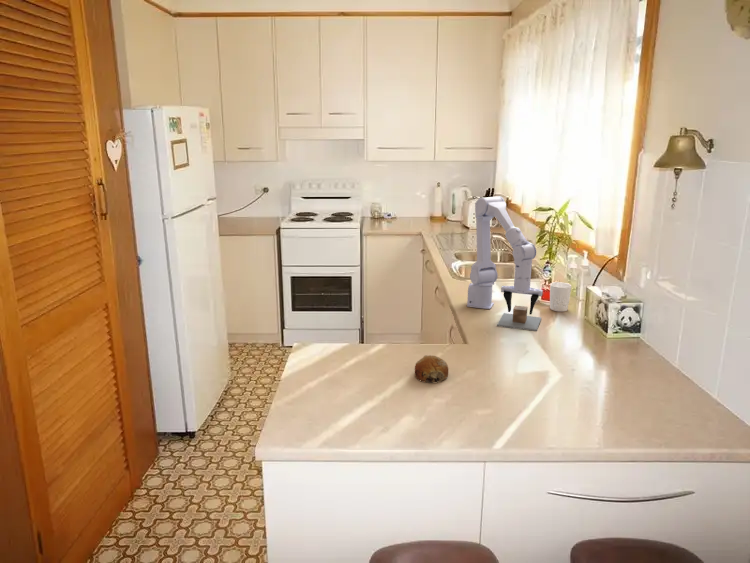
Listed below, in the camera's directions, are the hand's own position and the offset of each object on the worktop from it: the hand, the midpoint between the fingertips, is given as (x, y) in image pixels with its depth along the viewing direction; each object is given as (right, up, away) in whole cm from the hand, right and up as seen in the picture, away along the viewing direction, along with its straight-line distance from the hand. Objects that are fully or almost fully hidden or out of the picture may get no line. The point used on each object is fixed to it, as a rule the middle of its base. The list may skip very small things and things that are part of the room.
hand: (520, 312), depth 208 cm
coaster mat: (0, -4, +1) cm, 4 cm away
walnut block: (0, -3, +1) cm, 3 cm away
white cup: (+19, 0, +16) cm, 25 cm away
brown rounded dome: (-37, -17, -43) cm, 59 cm away
